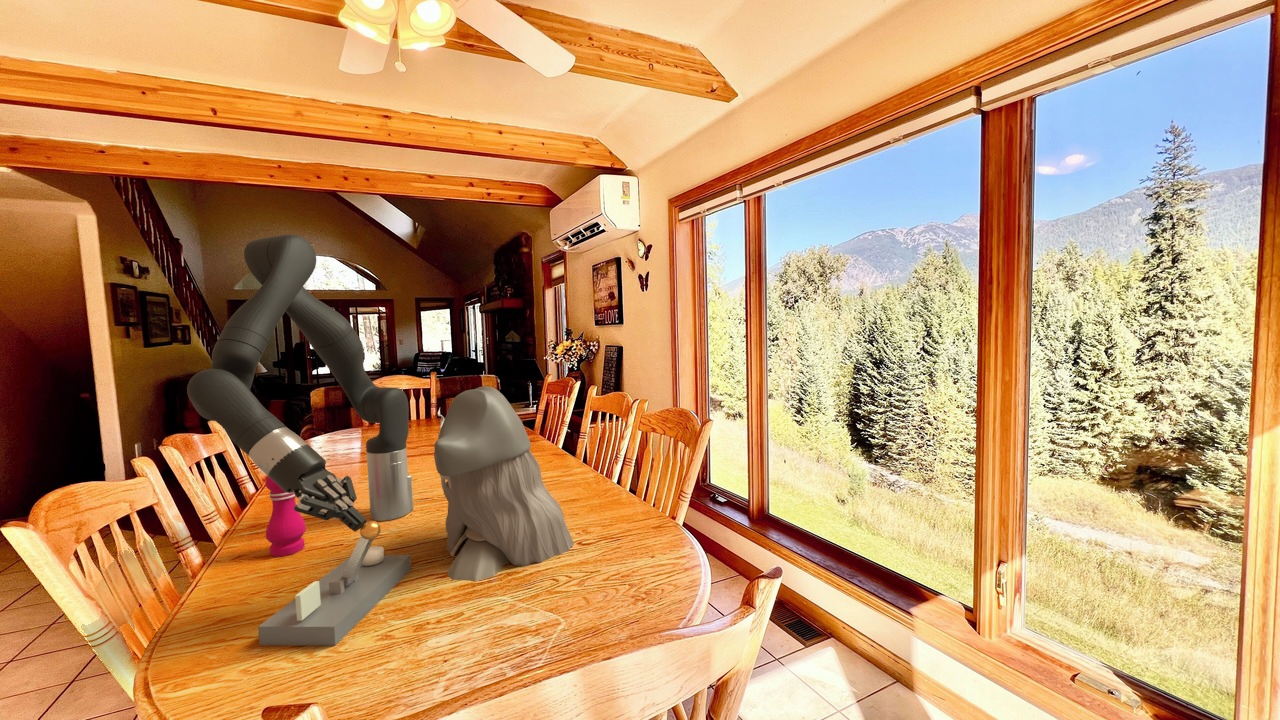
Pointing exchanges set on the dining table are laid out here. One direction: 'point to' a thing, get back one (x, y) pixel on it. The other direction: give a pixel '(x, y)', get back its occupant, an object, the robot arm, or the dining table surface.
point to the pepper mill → (284, 522)
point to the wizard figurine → (494, 489)
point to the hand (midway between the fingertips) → (361, 526)
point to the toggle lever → (360, 550)
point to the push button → (374, 556)
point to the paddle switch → (307, 600)
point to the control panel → (336, 605)
